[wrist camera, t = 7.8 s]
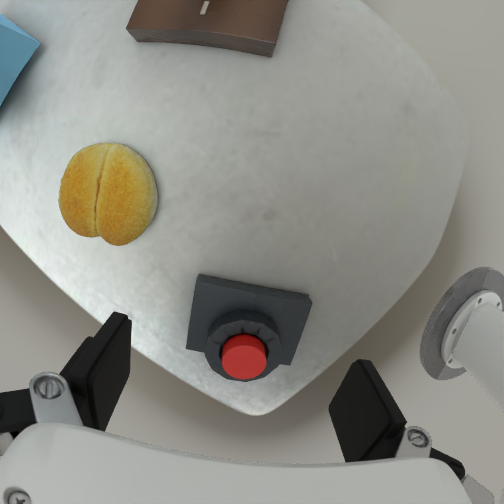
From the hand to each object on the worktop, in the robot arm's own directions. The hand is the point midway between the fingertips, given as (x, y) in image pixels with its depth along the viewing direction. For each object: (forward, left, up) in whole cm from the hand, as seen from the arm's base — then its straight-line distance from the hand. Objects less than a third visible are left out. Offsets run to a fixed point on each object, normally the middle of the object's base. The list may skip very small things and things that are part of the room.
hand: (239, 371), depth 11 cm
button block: (-2, +5, -15) cm, 16 cm away
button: (-2, +7, -11) cm, 14 cm away
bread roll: (+12, -4, -15) cm, 19 cm away
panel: (+7, -24, -15) cm, 29 cm away
